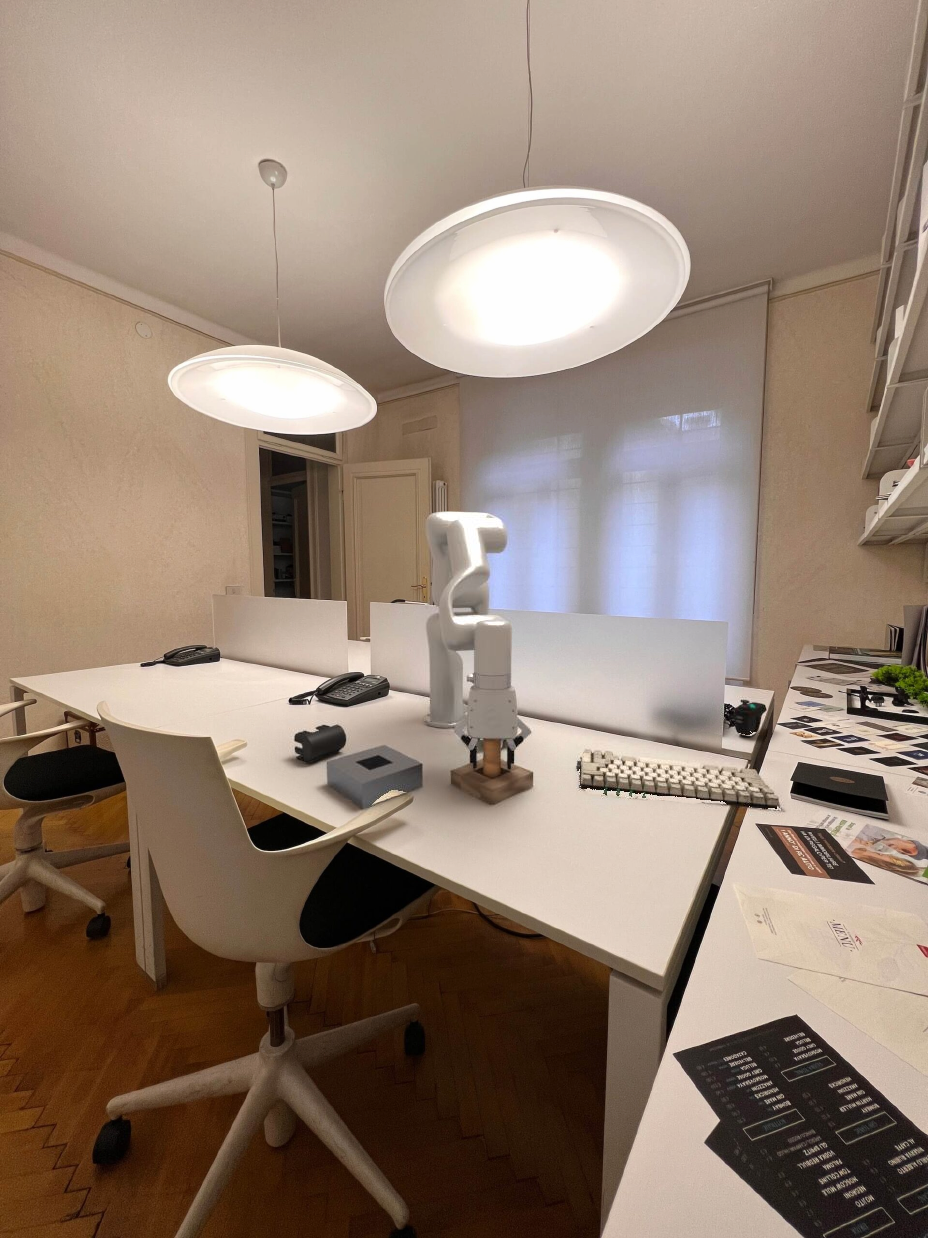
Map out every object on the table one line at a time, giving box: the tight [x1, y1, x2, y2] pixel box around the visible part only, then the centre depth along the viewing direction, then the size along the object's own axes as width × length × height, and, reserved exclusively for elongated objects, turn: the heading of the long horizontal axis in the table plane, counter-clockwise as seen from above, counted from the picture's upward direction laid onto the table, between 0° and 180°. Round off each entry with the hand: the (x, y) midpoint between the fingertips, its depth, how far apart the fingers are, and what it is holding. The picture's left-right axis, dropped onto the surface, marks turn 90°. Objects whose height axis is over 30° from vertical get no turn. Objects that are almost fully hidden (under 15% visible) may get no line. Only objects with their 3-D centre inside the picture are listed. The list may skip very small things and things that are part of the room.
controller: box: [733, 699, 767, 735], centre depth 133 cm, size 4×12×10 cm, turn 127°
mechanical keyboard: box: [575, 748, 781, 810], centre depth 105 cm, size 38×19×3 cm, turn 77°
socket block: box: [326, 744, 424, 810], centre depth 103 cm, size 14×14×5 cm
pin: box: [482, 739, 502, 779], centre depth 103 cm, size 4×4×11 cm
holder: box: [450, 758, 534, 806], centre depth 103 cm, size 12×12×3 cm
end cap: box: [293, 723, 347, 764], centre depth 118 cm, size 10×7×7 cm
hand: (491, 765), depth 103 cm, fingers open, 6 cm apart
